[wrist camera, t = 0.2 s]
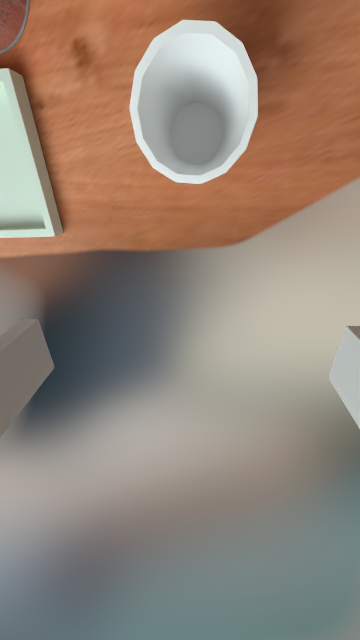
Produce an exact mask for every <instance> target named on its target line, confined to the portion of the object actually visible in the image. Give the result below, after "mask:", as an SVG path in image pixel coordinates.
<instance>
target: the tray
mask: <svg viewBox="0 0 360 640" xmlns="http://www.w3.org/2000/svg"><path fill="white" fill-rule="evenodd" d="M62 233H63V229H62V225H61V222H60V218H59V214H58V210H57V206H56V202H55V199H54V195H53V191H52V187H51V183H50V179H49V175H48V172H47V168H46V164H45V160H44V156H43V152H42V149H41V145H40V141H39V137H38V133H37V129H36V126H35V122H34V118H33V114H32V110H31V106H30V102H29V99H28V95H27V91H26V87H25V83H24V79H23V76H22V75H20V74H18V73H16V72H15V71H13V70H11V69H9V68H3V69H0V238H15V237H49V236H57V235H59V234H62Z"/></svg>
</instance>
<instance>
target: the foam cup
mask: <svg viewBox="0 0 360 640" xmlns="http://www.w3.org/2000/svg"><path fill="white" fill-rule="evenodd" d="M130 113H131V118H132V123H133V128H134V133H135V138H136V142H137V144H138V145H139V147H140V148H141V150H142V152H143V153H144V155H145V156H146V158H147V159H148V161H149V163H150V164H151V166H152V167H153V168H154V169H156V170H157V171H159V172H160V173H162V174H163V175H165V176H167V177H168V178H170V179H171V180H173V181H174V182H180V183H194V184H202V183H204V182H206V181H209V180H211V179H213V178H215V177H217V176H220V175H222V174H224V173H226V172H227V171H228V169H229V168H230V167H231V166H232V165H233V164H234V163H235V161H236V160H237V159H238V158H239V157H240V156H241V154H242V153H243V152H244V151H245V150H246V148H247V145H248V142H249V139H250V137H251V134H252V131H253V128H254V125H255V122H256V120H257V117H258V88H257V76H256V73H255V71H254V68H253V66H252V64H251V61H250V59H249V57H248V54H247V52H246V50H245V47H244V45H243V43H242V42H241V41H240V40H238V39H237V38H236V37H235V36H233V35H232V34H231V33H230V32H228V31H227V30H226V29H225V28H223V27H222V26H221V25H220V24H218V23H217V22H216V21H197V20H182V21H180V22H179V23H177V24H176V25H174V26H172V27H171V28H169V29H168V30H166V31H165V32H163V33H161V34H160V35H158V36H157V37H155V38H154V39H153V40H152V42H151V44H150V46H149V47H148V49H147V51H146V53H145V54H144V56H143V58H142V59H141V61H140V63H139V65H138V66H137V68H136V70H135V74H134V80H133V87H132V94H131V101H130Z"/></svg>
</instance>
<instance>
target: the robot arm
mask: <svg viewBox="0 0 360 640" xmlns="http://www.w3.org/2000/svg"><path fill="white" fill-rule="evenodd" d="M53 368H54V365H53V362H52V359H51V356H50V353H49V350H48V347H47V345H46V341H45V339H44V336H43V333H42V330H41V327H40V324H39V321H38V319H21V320H20V321H19V322H17V323H16V324H15V325H13V326H12V327H11V328H10V329H8V330H7V331H6V332H5V333H3V334H2V335H1V336H0V437H1V436H2V434H3V433H4V432H5V430H6V429H7V428H8V427H9V425H10V424H11V422H12V421H13V420H14V419H15V418H16V416H17V415H18V414H19V412H20V411H21V410H22V409H23V407H24V406H25V405H26V403H27V402H28V401H29V399H30V398H31V397H32V395H33V394H34V393H35V392H36V390H37V389H38V388H39V387H40V385H41V384H42V383H43V381H44V380H45V379H46V377H47V376H48V375H49V374H50V372H51V371H52V370H53ZM329 379H330V381H331V383H332V384H333V386H334V388H335V389H336V391H337V393H338V394H339V396H340V397H341V399H342V401H343V402H344V404H345V406H346V407H347V409H348V410H349V412H350V414H351V415H352V417H353V419H354V420H355V422H356V423H357V425H358V427H359V428H360V326H347V327H346V329H345V332H344V335H343V338H342V340H341V343H340V346H339V349H338V352H337V354H336V357H335V360H334V363H333V366H332V369H331V371H330V374H329Z"/></svg>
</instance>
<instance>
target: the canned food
mask: <svg viewBox="0 0 360 640" xmlns="http://www.w3.org/2000/svg"><path fill="white" fill-rule="evenodd" d="M28 12H29V0H0V54H2V53H5V52H7V51H8V50H10V49H11V48H12V47H13V46H14V45H15V44H16V43H17V42H18V41H19V39H20V38H21V36H22V34H23V31H24V29H25V26H26V22H27V18H28Z"/></svg>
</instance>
